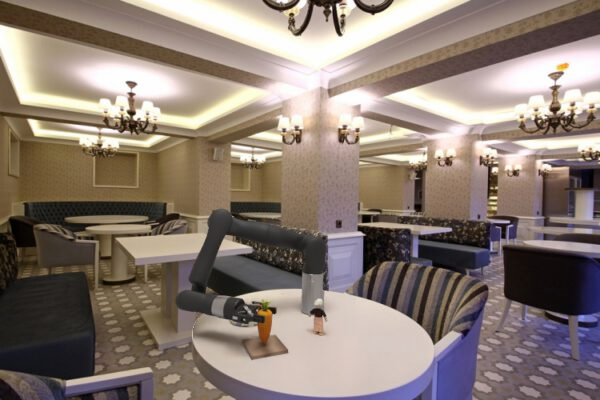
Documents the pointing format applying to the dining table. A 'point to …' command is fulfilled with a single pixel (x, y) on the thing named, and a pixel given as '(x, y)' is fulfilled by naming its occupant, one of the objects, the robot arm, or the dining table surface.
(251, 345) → the walnut board
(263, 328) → the carrot
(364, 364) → the dining table surface
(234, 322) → the decorative bowl
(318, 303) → the grandmother figurine
